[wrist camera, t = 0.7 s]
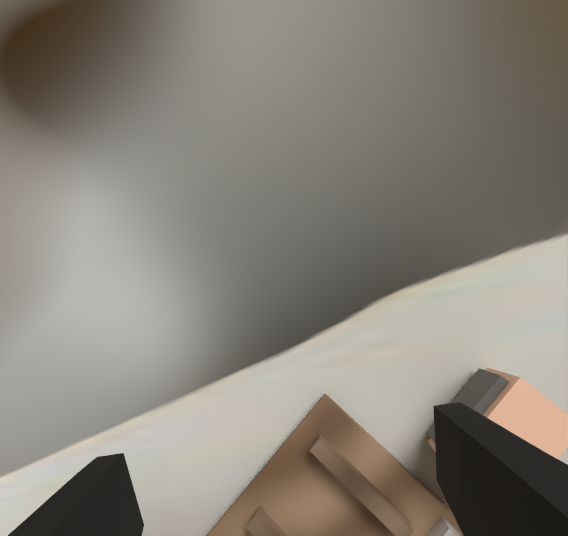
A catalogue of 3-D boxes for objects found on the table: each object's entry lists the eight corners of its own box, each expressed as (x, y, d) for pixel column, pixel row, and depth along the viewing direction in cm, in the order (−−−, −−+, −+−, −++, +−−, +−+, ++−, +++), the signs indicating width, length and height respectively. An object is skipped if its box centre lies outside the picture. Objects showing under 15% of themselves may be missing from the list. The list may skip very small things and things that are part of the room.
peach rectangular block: (537, 406, 24) (584, 426, 19) (475, 482, 24) (506, 521, 19) (479, 362, 25) (511, 370, 21) (420, 434, 25) (437, 460, 20)
